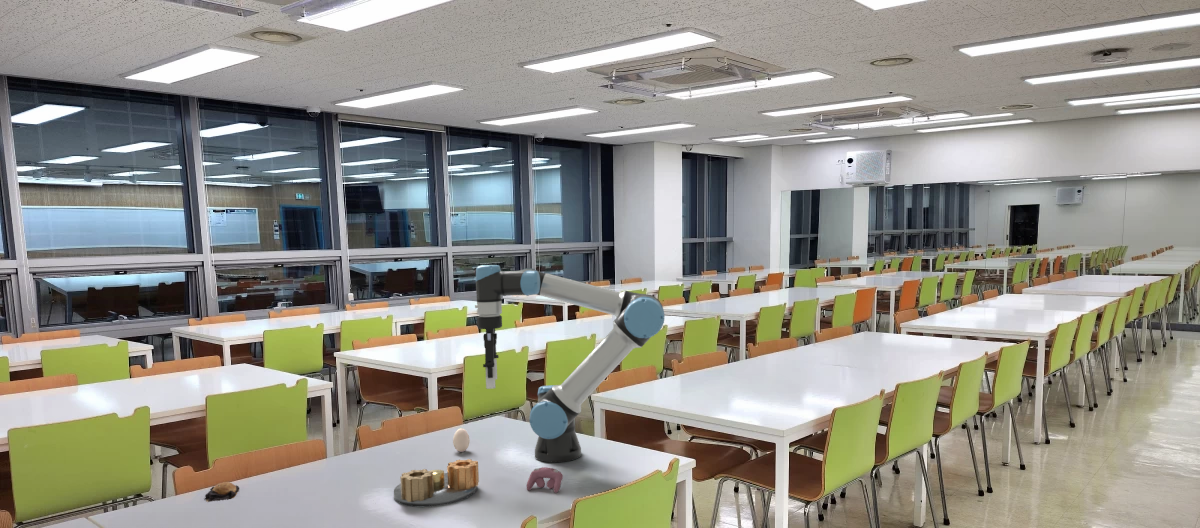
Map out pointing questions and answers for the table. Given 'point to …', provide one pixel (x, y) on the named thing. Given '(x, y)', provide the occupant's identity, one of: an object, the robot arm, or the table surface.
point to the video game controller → (545, 473)
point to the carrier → (428, 489)
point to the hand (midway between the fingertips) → (491, 383)
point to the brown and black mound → (222, 492)
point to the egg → (461, 440)
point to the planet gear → (463, 474)
